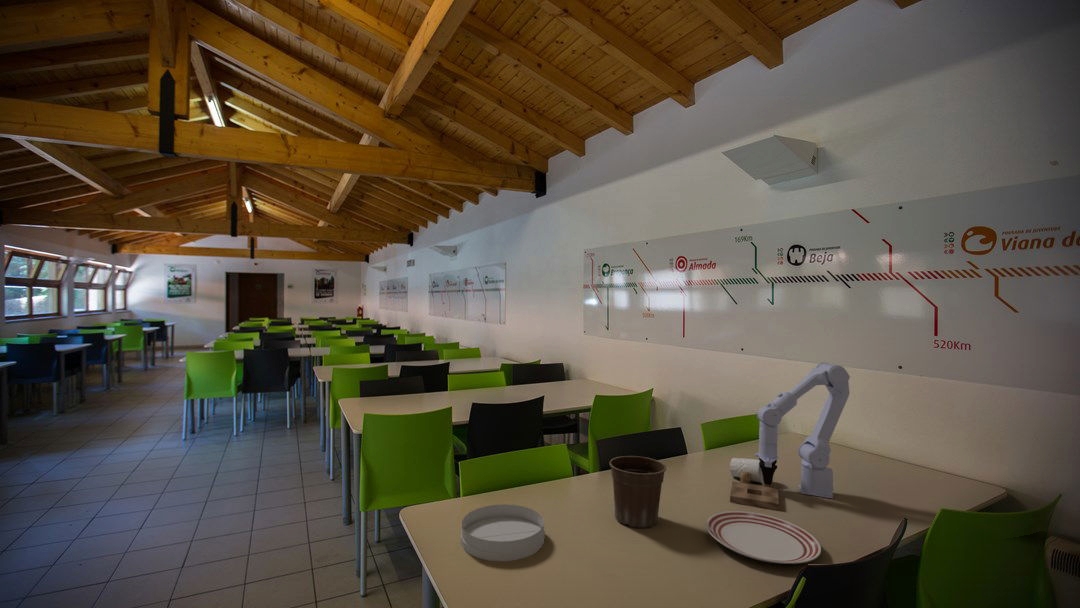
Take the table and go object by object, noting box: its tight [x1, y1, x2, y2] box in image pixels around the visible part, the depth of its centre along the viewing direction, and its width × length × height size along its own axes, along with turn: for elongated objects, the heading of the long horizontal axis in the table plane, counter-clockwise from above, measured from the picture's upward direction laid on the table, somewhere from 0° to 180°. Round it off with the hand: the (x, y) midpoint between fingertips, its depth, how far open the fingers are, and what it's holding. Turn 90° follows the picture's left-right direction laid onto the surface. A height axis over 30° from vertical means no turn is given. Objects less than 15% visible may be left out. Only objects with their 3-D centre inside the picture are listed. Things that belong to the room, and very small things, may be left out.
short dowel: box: [740, 472, 751, 484], centre depth 171 cm, size 3×3×4 cm
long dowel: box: [761, 479, 774, 488], centre depth 166 cm, size 3×3×7 cm
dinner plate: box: [705, 510, 822, 565], centre depth 128 cm, size 27×27×3 cm
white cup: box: [729, 457, 763, 484], centre depth 176 cm, size 8×8×10 cm
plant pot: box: [609, 455, 667, 529], centre depth 142 cm, size 16×16×16 cm
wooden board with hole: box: [729, 481, 780, 511], centre depth 159 cm, size 14×14×2 cm
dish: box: [460, 503, 546, 562], centre depth 128 cm, size 22×22×5 cm
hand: (767, 482), depth 166 cm, fingers open, 4 cm apart
